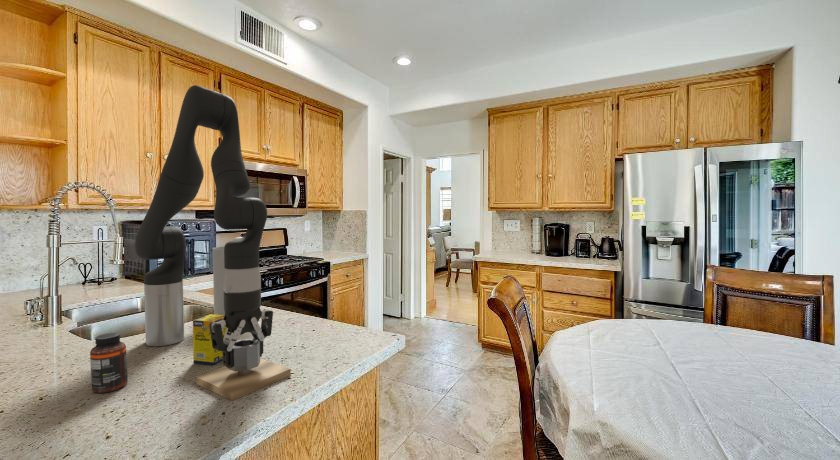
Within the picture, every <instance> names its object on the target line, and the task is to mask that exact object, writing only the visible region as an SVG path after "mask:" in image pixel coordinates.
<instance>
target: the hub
mask: <svg viewBox="0 0 840 460" xmlns="http://www.w3.org/2000/svg"><path fill="white" fill-rule="evenodd" d="M232 351H233V367H232V368H228V369H229V370H232V371H234V372H235V371H247V370H250V369H252V368H255V367H258V365H259V363H260V358H261V357H260V340H257V339H254V338H251V339H240V340H237V341H236V342H235V344H234V346H233V349H232Z"/></svg>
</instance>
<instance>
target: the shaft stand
mask: <svg viewBox="0 0 840 460" xmlns="http://www.w3.org/2000/svg"><path fill="white" fill-rule="evenodd" d="M291 374H292V372H291V368H290V367H286V366H284V365H280V364H278V363H274V362H273V361H269V360H265V359H263V358H262V357H260V363H259V365H258V367H255V368H252V369H250V370H247V371H235V372H234V371H232V370H229V369H228V367H226V366H225V365H223V366H221V367H219V368H216V369H212V370H210V371H207V372H205V373H202V374H199V375H196V376H195V384H197V386H198V385H199V386H200V387H202V388H205V389H207V390H209V391H211V392H213V393H215V394H217V395H220V396H221V397H223V398H226V399H228V400H230V401H234V400H237V399H239V398H241V397H243V396H246V395H248V394H250V393H253V392H255V391H257V390H260V389H263V388H265V387H267V386H269V385H271V384H273V383H276V382H278V381H281V380H283V379H285V378H288V377H290V376H291Z"/></svg>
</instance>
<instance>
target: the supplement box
mask: <svg viewBox="0 0 840 460" xmlns="http://www.w3.org/2000/svg"><path fill="white" fill-rule="evenodd" d="M224 316H225V315H216V314H214V313H212V314H210V313H209V314H207V315H204V316H203V317H202V316H201V317H199V318H197V319H196V318H195V319H193V320H192V340H193V341H192V345H193V346H192V347H193V348H192V351H193V356H192V357H193V358H192V359H193V364H199V365H209V366H214V365H217V363H220V362H221V361H222V362H223V353H222V351H218V350H216V349H213V347H212V341H211V334H210V327H209V324H210V323H211V322H218V321H221V320H223V318H224ZM226 330H227V327H226V326H224V330H223V331H222V334H223V340H224V334H225V332H226Z"/></svg>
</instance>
